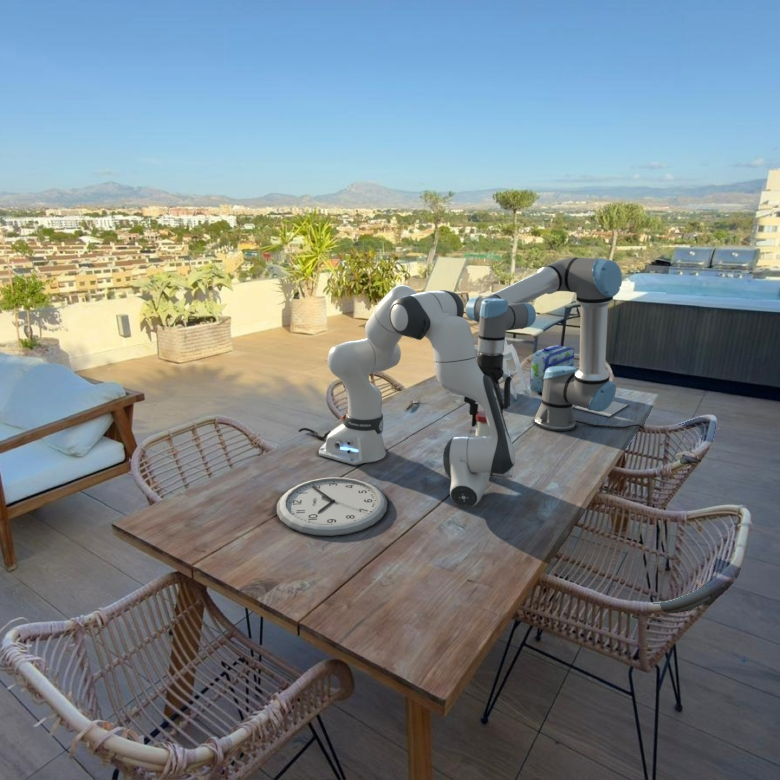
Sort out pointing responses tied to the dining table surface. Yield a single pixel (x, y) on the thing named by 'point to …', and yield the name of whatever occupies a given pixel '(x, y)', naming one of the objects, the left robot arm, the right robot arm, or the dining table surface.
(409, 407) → the fork
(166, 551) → the dining table surface
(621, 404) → the invitation card
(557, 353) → the lunch box
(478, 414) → the lid
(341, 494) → the wall clock
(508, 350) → the white plastic object
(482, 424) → the jar
